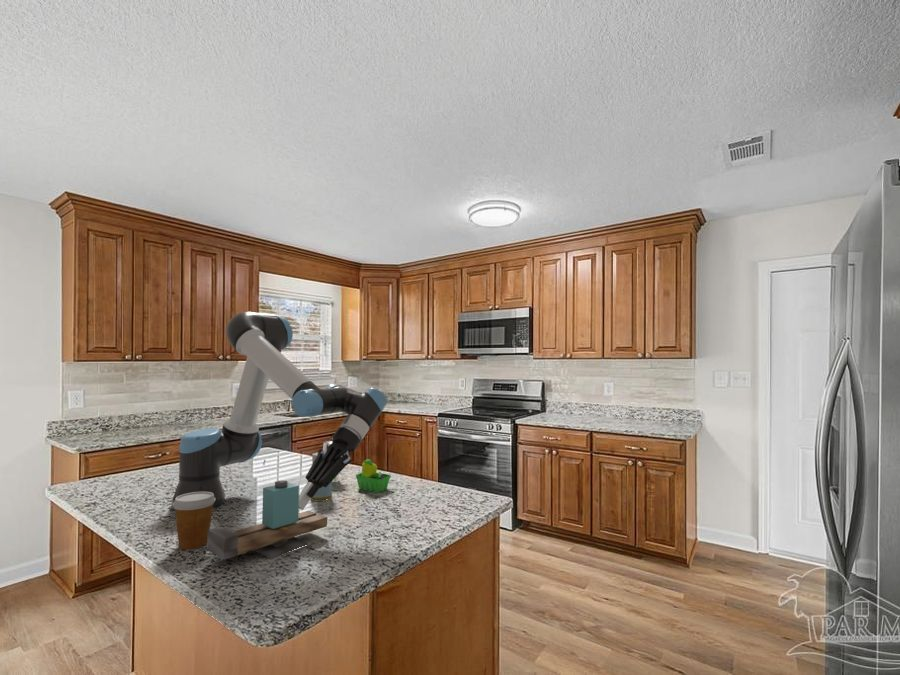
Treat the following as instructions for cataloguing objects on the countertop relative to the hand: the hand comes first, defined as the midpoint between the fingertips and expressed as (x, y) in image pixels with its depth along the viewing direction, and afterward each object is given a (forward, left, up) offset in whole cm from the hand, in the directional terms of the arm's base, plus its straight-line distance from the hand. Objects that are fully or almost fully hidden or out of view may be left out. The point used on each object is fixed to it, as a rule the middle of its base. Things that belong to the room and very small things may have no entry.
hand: (298, 506), depth 121 cm
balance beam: (-4, -6, -8) cm, 11 cm away
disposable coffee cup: (-24, -8, -9) cm, 27 cm away
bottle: (-10, +35, -9) cm, 38 cm away
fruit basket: (+3, +49, -9) cm, 50 cm away
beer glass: (-16, +57, -9) cm, 60 cm away
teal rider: (-3, -4, -5) cm, 7 cm away
